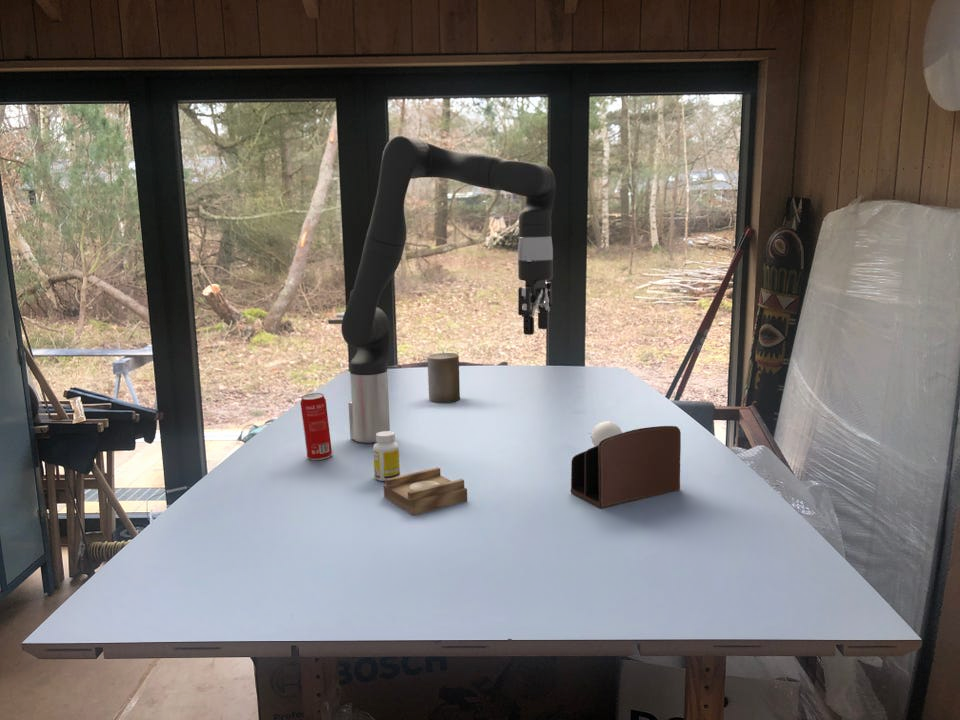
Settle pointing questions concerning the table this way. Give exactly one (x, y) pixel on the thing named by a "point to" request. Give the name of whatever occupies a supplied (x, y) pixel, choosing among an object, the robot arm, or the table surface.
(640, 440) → the letter holder
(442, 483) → the display plinth
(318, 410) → the beverage can
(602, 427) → the white egg shape
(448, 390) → the pillar candle
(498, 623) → the table surface
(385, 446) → the supplement bottle
